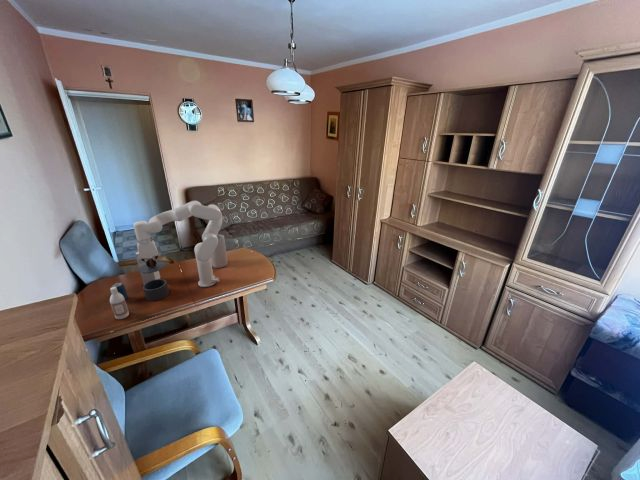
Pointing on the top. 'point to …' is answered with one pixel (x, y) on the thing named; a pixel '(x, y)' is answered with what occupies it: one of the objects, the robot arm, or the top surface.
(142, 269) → the tin lid
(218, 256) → the cylinder vase
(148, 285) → the tin
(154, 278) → the box
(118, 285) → the soda can
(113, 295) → the bath foam
